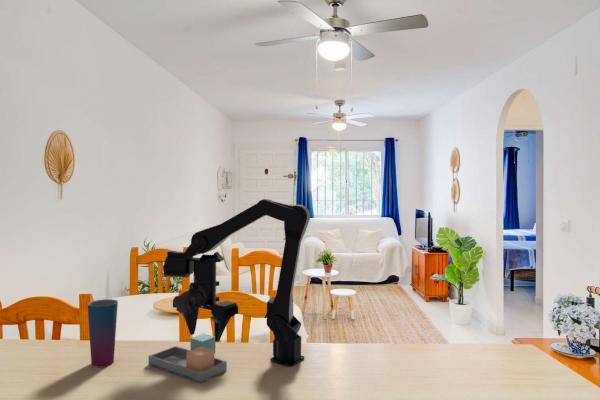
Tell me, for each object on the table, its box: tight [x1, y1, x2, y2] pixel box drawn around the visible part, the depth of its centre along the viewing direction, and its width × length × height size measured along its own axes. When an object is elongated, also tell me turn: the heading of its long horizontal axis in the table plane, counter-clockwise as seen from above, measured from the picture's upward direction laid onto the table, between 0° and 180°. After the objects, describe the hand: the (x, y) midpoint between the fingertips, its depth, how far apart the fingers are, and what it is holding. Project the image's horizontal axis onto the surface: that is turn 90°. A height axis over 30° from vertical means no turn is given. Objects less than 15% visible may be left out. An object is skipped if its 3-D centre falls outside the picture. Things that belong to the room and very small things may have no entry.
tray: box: [148, 345, 228, 384], centre depth 106 cm, size 18×8×2 cm, turn 56°
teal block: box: [189, 333, 216, 355], centre depth 115 cm, size 4×4×4 cm
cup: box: [87, 298, 119, 368], centre depth 108 cm, size 7×7×15 cm
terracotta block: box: [187, 346, 215, 372], centre depth 104 cm, size 4×4×4 cm
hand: (204, 337), depth 115 cm, fingers open, 9 cm apart
